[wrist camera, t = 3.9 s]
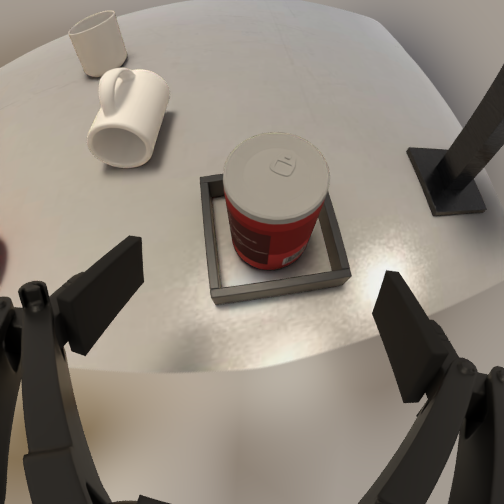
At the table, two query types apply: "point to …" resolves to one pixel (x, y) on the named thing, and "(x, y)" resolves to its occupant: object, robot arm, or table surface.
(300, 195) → the canned food
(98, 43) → the mug
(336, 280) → the grey square frame
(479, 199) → the steel stand
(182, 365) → the table surface
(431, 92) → the table surface
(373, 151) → the table surface
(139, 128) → the mug
